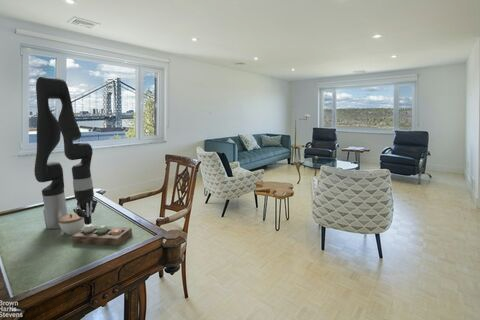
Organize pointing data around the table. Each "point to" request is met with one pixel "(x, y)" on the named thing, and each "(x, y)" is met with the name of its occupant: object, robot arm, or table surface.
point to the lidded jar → (71, 223)
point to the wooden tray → (102, 237)
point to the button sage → (102, 229)
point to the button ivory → (88, 228)
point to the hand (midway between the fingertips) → (88, 223)
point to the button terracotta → (116, 232)
